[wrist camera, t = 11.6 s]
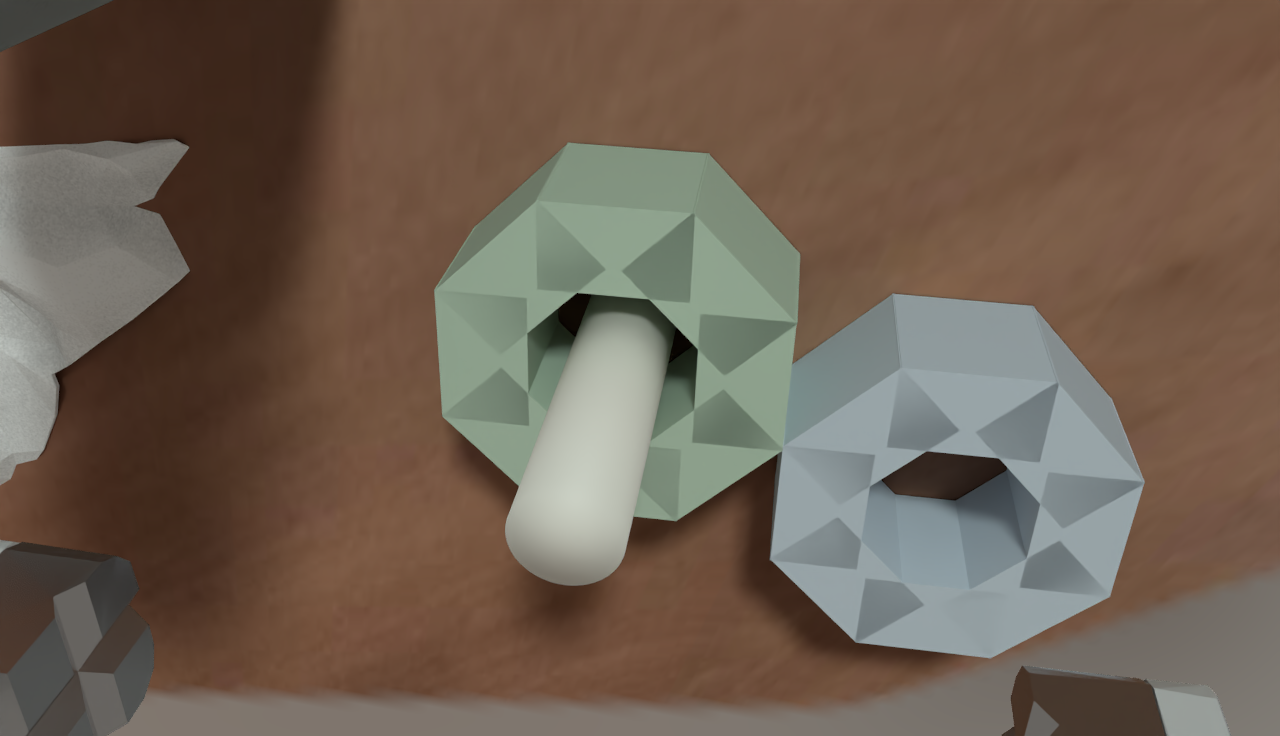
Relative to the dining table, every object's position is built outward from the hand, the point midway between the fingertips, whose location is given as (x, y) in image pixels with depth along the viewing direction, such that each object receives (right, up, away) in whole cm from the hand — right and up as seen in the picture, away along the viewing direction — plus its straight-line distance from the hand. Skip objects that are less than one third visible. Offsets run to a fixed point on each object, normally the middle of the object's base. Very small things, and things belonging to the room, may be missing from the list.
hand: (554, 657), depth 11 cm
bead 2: (+10, 0, +28) cm, 29 cm away
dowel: (+1, +5, +26) cm, 27 cm away
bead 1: (+1, +5, +26) cm, 27 cm away
